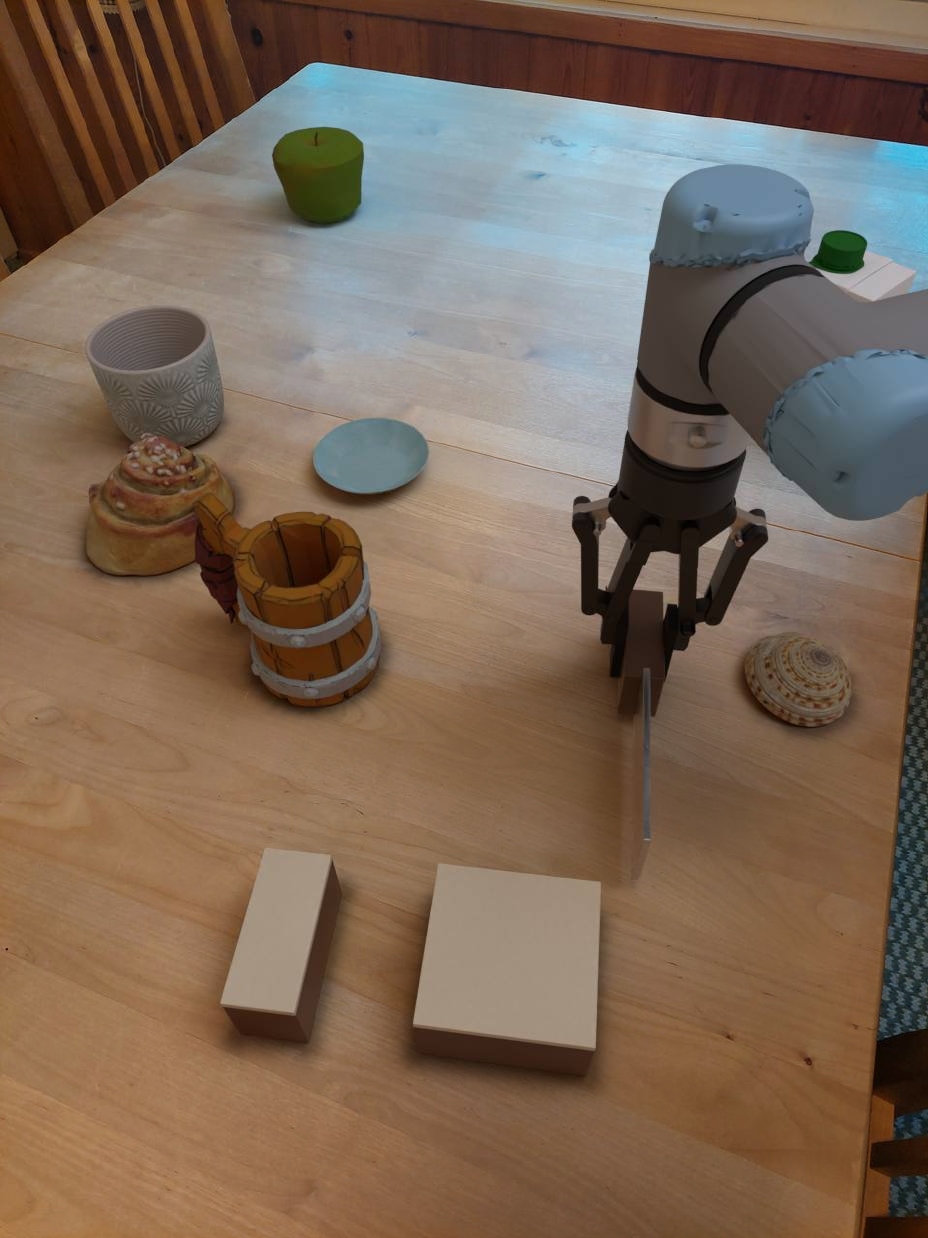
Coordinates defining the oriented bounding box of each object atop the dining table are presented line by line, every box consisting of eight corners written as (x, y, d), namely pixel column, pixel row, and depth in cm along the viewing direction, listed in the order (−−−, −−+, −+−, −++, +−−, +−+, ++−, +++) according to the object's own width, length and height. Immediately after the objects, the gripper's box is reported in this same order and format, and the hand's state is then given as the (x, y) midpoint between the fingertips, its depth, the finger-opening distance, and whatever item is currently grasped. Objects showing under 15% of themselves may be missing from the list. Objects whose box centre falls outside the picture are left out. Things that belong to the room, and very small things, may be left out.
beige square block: (586, 1076, 55) (595, 1048, 51) (418, 1053, 56) (412, 1024, 52) (592, 919, 62) (601, 881, 57) (441, 901, 63) (438, 863, 58)
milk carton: (793, 393, 101) (848, 215, 85) (865, 429, 96) (937, 249, 81) (746, 426, 97) (795, 247, 82) (819, 465, 92) (885, 283, 77)
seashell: (785, 608, 77) (870, 637, 71) (790, 662, 80) (871, 694, 73) (719, 654, 74) (801, 689, 67) (726, 708, 76) (806, 746, 70)
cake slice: (309, 1043, 57) (294, 1013, 52) (240, 1034, 57) (219, 1003, 53) (342, 893, 63) (331, 854, 59) (280, 886, 64) (264, 847, 59)
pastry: (245, 473, 93) (229, 409, 87) (213, 578, 83) (192, 514, 77) (119, 471, 94) (94, 407, 87) (73, 576, 84) (41, 512, 78)
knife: (619, 627, 77) (627, 578, 72) (654, 630, 77) (665, 581, 72) (612, 879, 62) (623, 837, 58) (656, 884, 62) (670, 842, 57)
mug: (340, 732, 72) (313, 608, 61) (182, 655, 77) (130, 528, 66) (410, 640, 78) (397, 512, 67) (259, 575, 84) (223, 446, 72)
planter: (207, 468, 94) (180, 378, 85) (97, 454, 95) (61, 365, 87) (249, 398, 102) (228, 310, 93) (147, 386, 103) (118, 299, 95)
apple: (369, 192, 135) (361, 110, 126) (369, 230, 127) (360, 146, 119) (286, 195, 135) (272, 114, 126) (280, 234, 127) (265, 150, 118)
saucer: (379, 525, 88) (376, 507, 86) (292, 478, 92) (288, 460, 91) (452, 462, 94) (452, 444, 92) (367, 421, 98) (365, 403, 97)
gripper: (553, 466, 54) (535, 694, 72) (827, 485, 53) (740, 714, 71) (560, 392, 59) (542, 623, 77) (812, 408, 58) (734, 640, 75)
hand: (637, 666), depth 74 cm, fingers closed on knife, 3 cm apart
